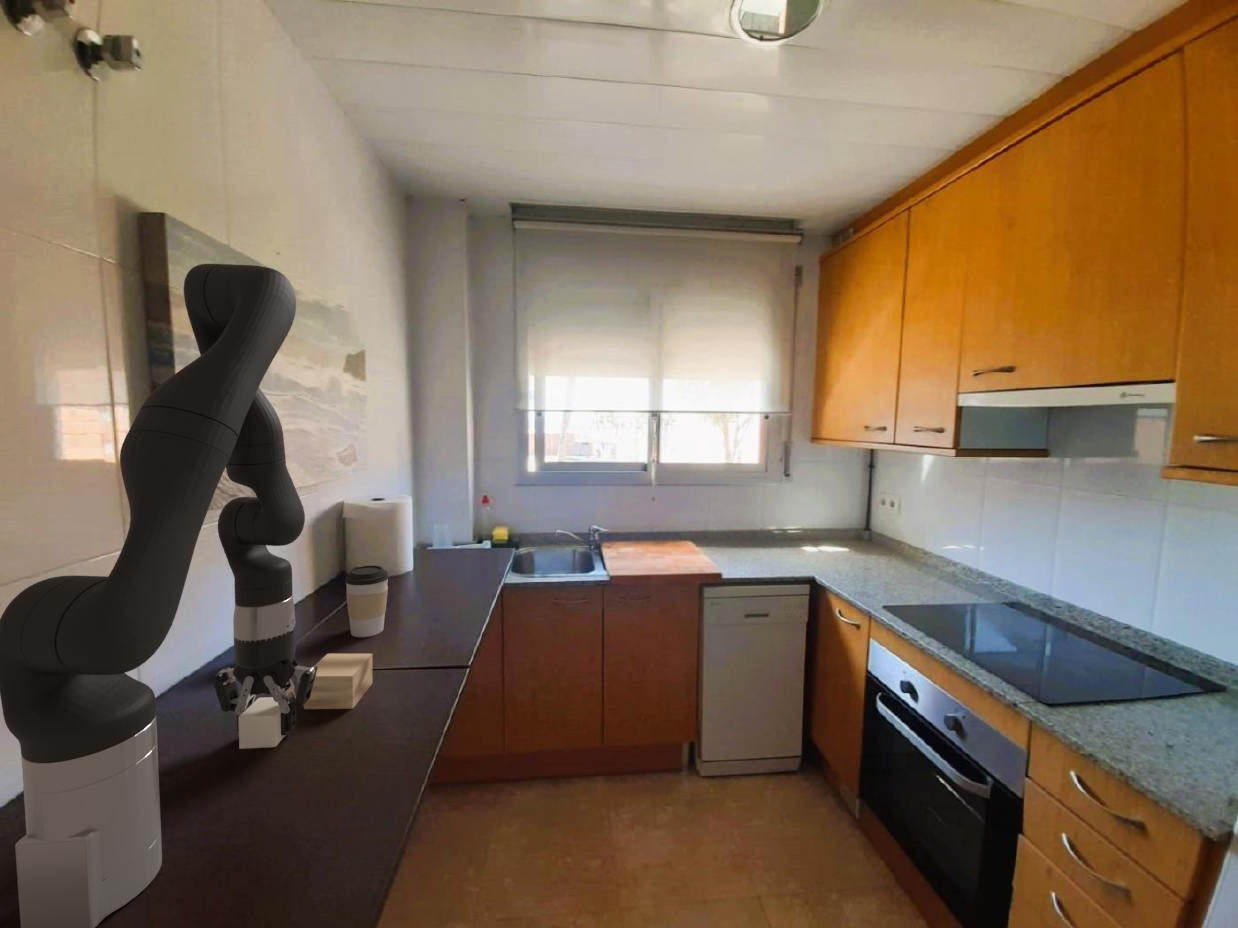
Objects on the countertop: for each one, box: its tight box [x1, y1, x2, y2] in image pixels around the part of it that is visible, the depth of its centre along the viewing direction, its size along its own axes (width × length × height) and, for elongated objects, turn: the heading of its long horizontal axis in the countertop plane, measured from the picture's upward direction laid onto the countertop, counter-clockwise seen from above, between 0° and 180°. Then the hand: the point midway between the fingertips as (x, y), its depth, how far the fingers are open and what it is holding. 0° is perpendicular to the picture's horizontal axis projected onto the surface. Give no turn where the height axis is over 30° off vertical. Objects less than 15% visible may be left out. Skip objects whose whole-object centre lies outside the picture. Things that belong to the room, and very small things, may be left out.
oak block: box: [303, 653, 373, 710], centre depth 86 cm, size 8×8×6 cm
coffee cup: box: [344, 564, 390, 638], centre depth 111 cm, size 9×9×15 cm
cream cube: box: [238, 696, 286, 750], centre depth 74 cm, size 5×5×5 cm
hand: (267, 732), depth 74 cm, fingers closed on cream cube, 5 cm apart
